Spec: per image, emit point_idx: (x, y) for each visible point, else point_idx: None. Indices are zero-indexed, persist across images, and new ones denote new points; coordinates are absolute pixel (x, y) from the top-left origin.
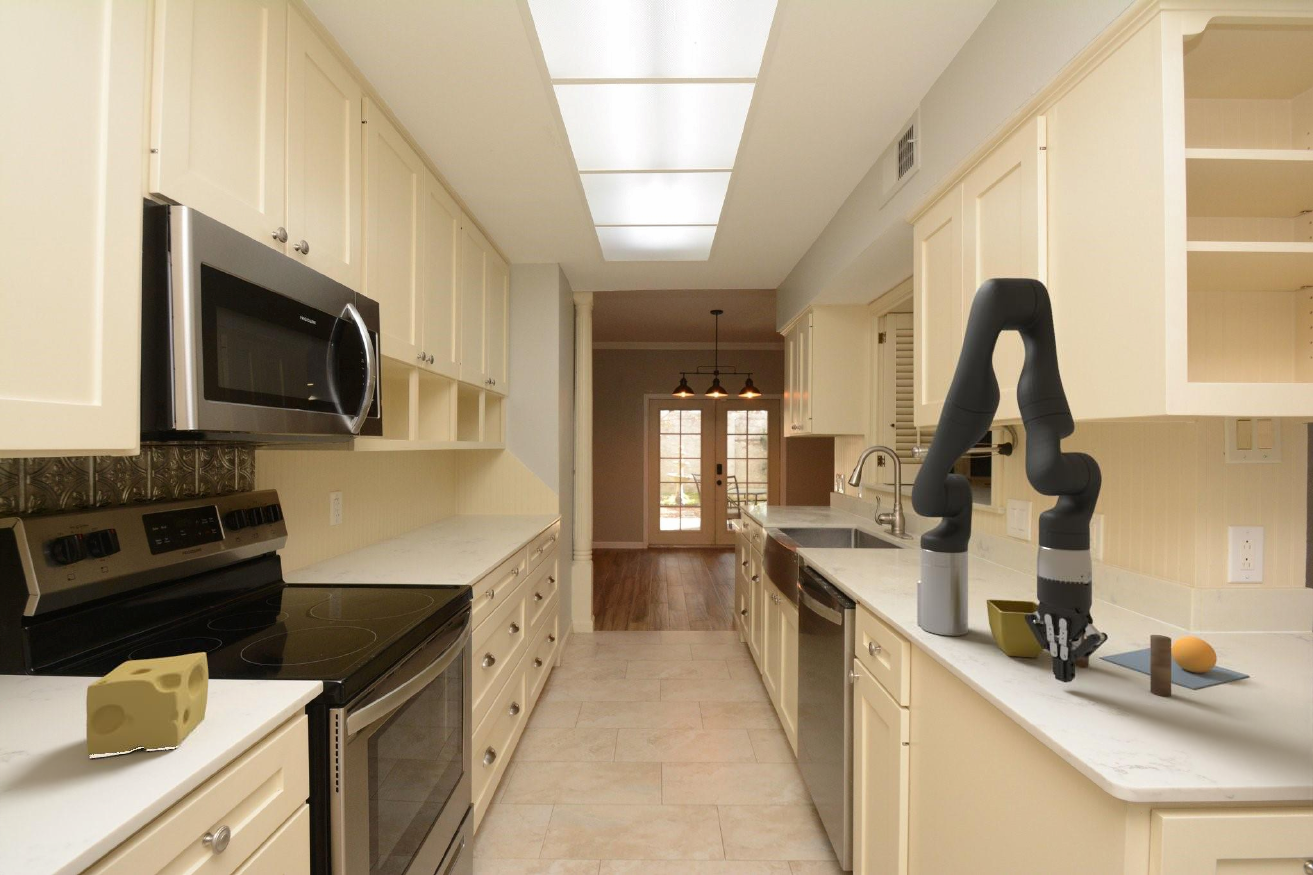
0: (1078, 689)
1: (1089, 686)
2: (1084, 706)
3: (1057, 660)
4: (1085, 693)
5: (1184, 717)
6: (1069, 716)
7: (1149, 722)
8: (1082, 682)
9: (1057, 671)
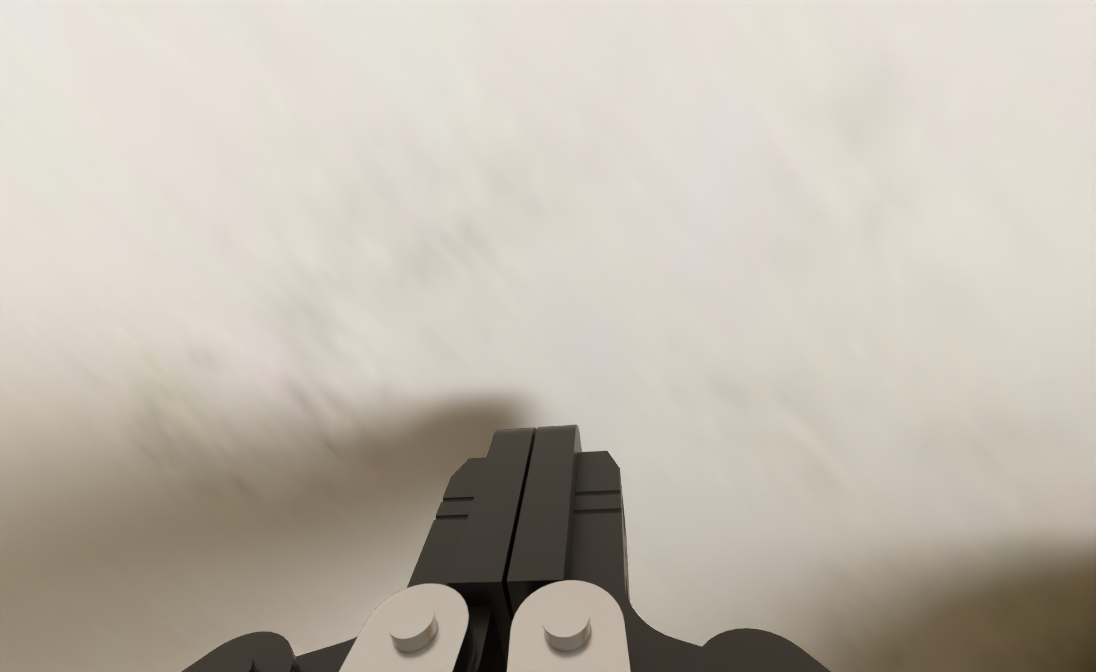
0: None
1: None
2: (268, 312)
3: (527, 555)
4: None
5: (136, 652)
6: (84, 29)
7: (55, 470)
8: None
9: (542, 466)
